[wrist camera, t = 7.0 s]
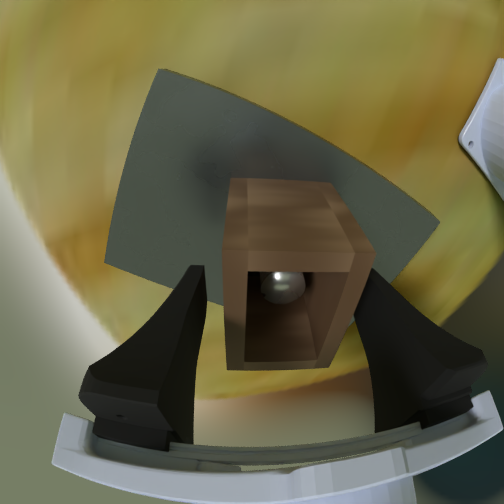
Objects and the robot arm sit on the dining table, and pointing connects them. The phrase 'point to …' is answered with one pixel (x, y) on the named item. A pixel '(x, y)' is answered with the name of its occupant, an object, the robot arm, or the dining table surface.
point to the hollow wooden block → (290, 260)
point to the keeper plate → (218, 182)
